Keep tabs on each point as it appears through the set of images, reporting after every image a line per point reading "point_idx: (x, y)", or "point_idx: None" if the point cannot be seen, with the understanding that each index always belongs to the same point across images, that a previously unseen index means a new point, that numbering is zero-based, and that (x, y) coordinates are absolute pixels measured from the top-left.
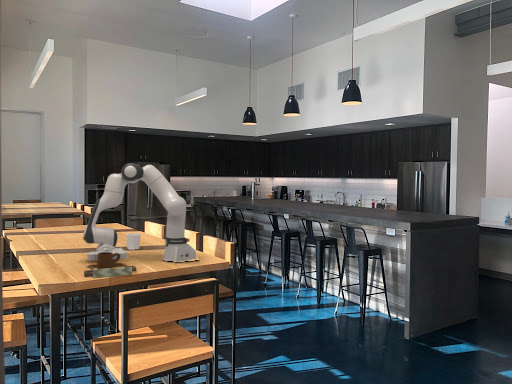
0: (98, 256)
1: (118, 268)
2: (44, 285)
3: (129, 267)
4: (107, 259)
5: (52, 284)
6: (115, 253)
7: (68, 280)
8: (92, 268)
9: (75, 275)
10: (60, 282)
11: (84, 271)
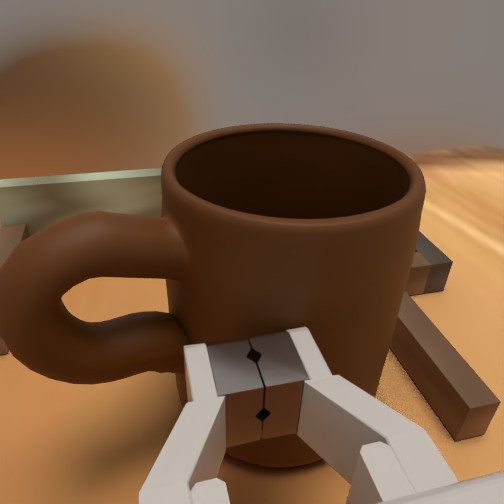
0: (374, 174)
1: (124, 171)
2: (497, 150)
3: (17, 182)
4: (237, 190)
5: (473, 155)
6: (100, 213)
7: (443, 188)
8: (419, 326)
9: (487, 263)
10: (459, 170)
11: (428, 240)
